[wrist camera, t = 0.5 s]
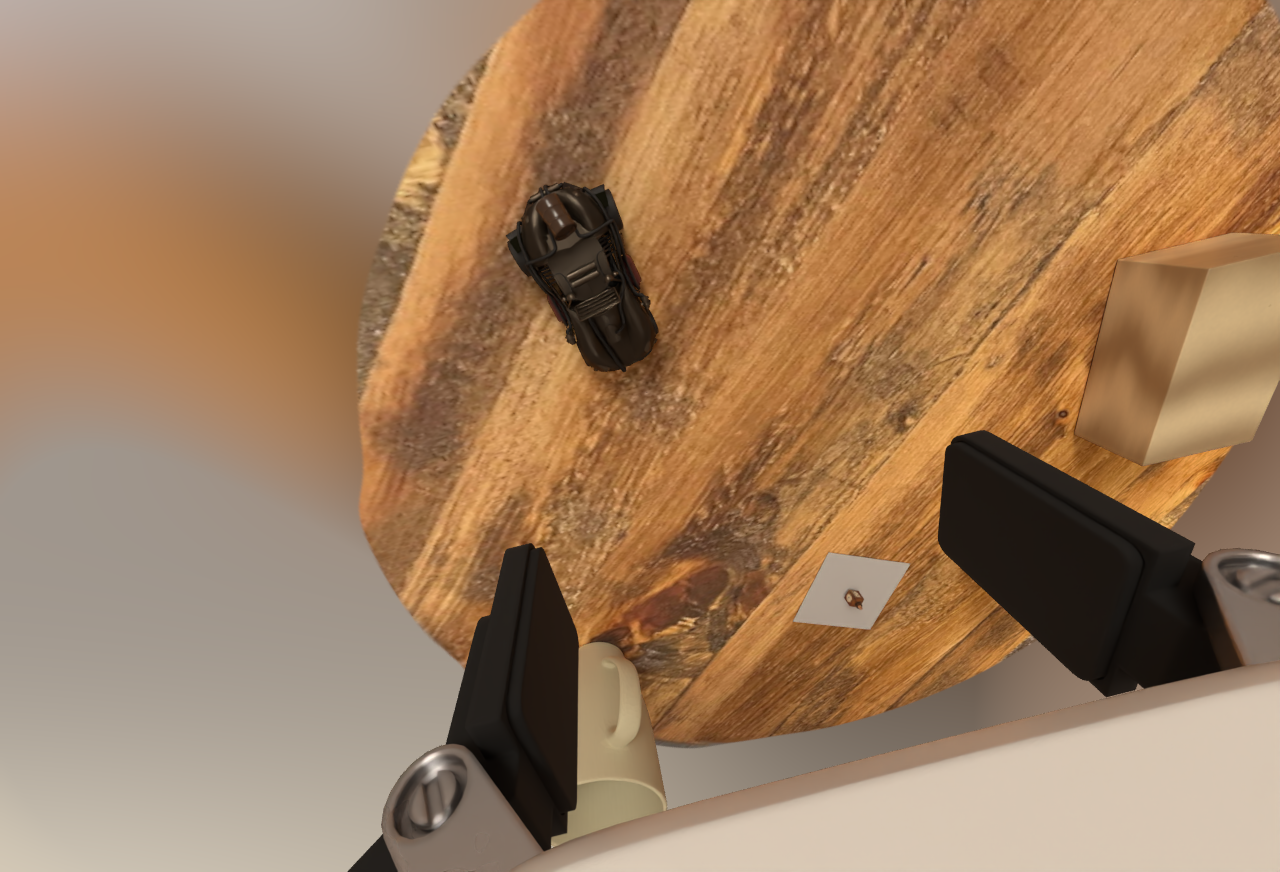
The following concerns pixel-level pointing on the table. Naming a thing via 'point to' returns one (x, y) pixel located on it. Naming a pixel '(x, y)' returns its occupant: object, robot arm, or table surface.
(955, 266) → the table surface
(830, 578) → the gray square plate
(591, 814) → the mug
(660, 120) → the table surface
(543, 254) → the toy car
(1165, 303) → the birch block
